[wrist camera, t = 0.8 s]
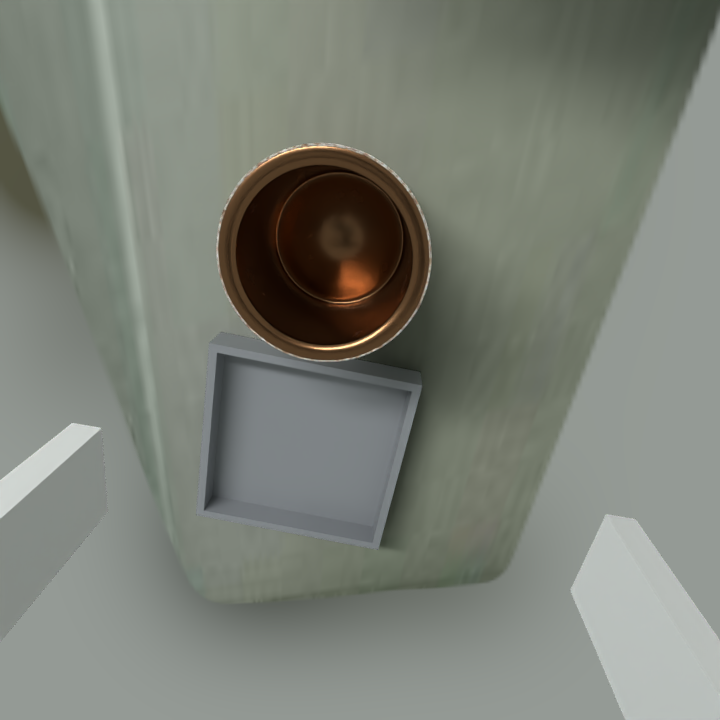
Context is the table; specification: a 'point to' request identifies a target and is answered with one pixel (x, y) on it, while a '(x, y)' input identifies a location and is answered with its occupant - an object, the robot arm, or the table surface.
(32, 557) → the robot arm
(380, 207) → the planter
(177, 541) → the table surface
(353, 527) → the tray
